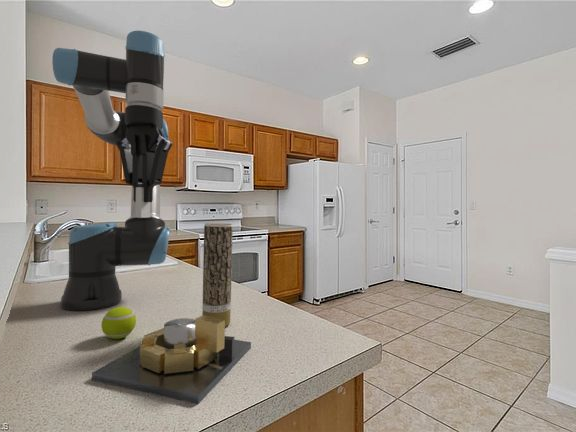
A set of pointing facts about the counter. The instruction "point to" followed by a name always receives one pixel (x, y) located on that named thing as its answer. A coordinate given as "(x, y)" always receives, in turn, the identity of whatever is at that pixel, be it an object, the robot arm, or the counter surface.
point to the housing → (176, 384)
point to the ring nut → (182, 358)
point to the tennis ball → (118, 322)
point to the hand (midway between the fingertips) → (142, 217)
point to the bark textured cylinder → (217, 271)
